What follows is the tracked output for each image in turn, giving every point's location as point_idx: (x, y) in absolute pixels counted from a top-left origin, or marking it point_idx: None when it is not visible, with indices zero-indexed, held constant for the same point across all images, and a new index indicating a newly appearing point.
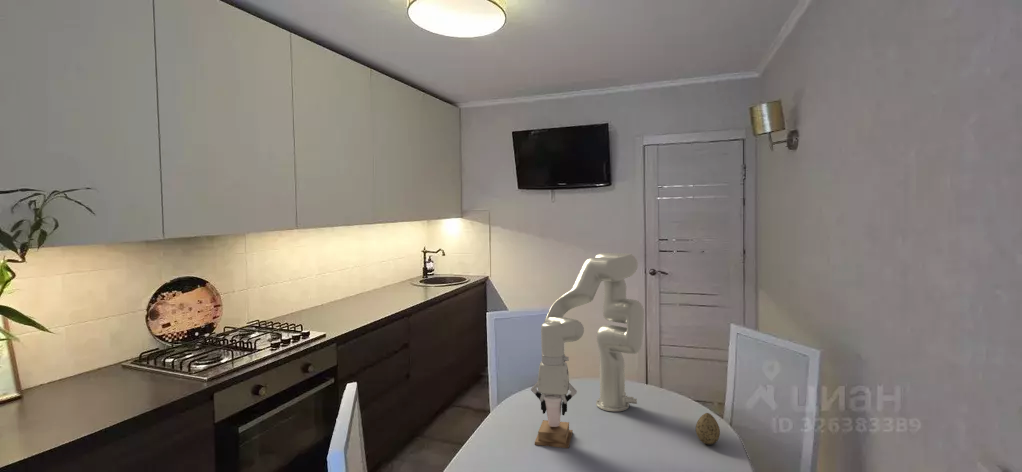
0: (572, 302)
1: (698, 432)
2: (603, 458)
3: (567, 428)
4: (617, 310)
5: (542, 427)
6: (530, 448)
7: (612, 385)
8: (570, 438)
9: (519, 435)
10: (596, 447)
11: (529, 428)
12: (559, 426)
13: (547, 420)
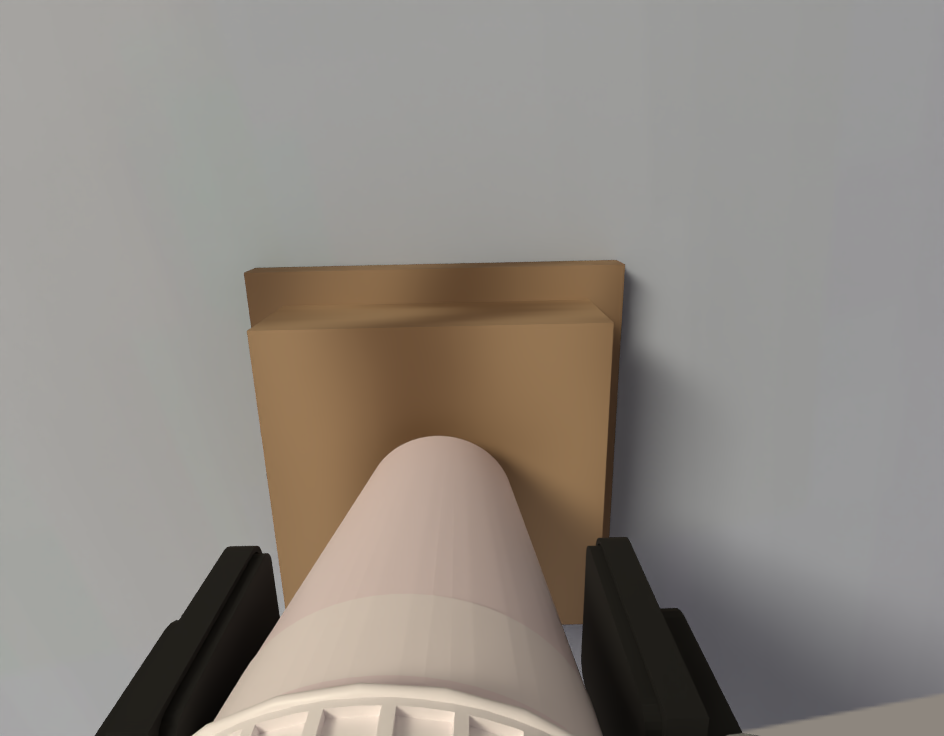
0: None
1: None
2: (886, 646)
3: (603, 477)
4: None
5: (305, 532)
6: None
7: None
8: (612, 440)
9: (83, 439)
10: (849, 498)
11: (115, 259)
12: (502, 465)
13: (309, 331)
